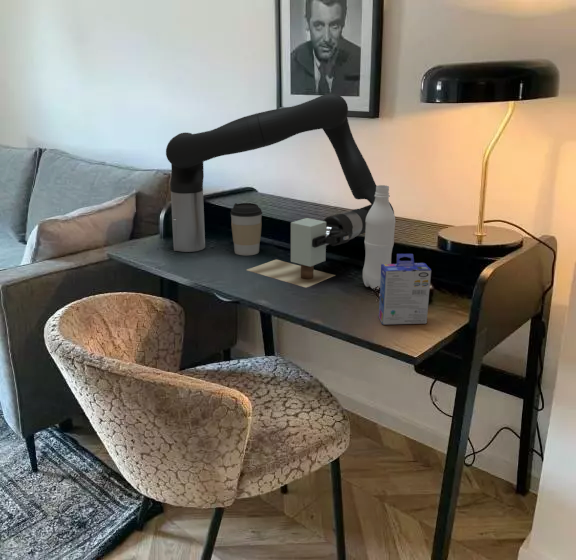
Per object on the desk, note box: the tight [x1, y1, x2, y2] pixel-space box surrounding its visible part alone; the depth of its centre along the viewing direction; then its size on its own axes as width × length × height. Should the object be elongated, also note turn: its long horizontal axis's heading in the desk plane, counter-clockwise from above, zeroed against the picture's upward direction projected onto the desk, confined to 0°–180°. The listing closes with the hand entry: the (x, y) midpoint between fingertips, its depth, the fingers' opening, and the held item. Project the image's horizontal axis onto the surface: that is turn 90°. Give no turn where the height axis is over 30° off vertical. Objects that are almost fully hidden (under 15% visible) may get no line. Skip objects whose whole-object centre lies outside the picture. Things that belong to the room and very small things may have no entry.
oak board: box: [246, 259, 336, 288], centre depth 156 cm, size 20×12×5 cm, turn 50°
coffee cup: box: [229, 202, 263, 256], centre depth 171 cm, size 9×9×15 cm
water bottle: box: [362, 184, 396, 290], centre depth 147 cm, size 7×7×25 cm
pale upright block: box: [290, 217, 327, 267], centre depth 150 cm, size 6×6×10 cm
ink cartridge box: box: [378, 253, 432, 325], centre depth 129 cm, size 10×6×14 cm, turn 95°
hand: (302, 240), depth 148 cm, fingers closed on pale upright block, 6 cm apart
